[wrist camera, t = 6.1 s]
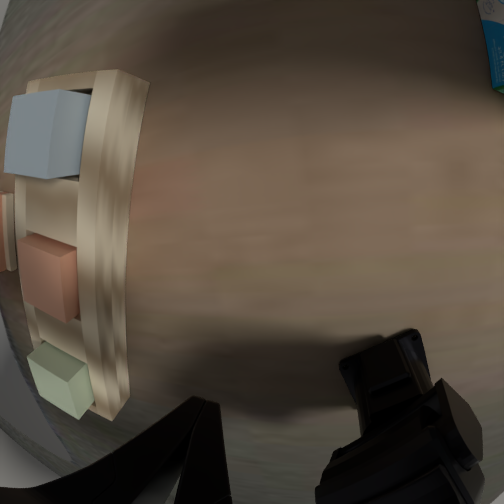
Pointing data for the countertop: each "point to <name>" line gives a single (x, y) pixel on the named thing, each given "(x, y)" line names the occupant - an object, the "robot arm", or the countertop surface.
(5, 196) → the terracotta sign
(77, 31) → the countertop surface
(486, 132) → the countertop surface
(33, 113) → the slate button
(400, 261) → the countertop surface
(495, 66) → the milk carton
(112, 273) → the button panel
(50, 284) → the terracotta button
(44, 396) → the sage button
